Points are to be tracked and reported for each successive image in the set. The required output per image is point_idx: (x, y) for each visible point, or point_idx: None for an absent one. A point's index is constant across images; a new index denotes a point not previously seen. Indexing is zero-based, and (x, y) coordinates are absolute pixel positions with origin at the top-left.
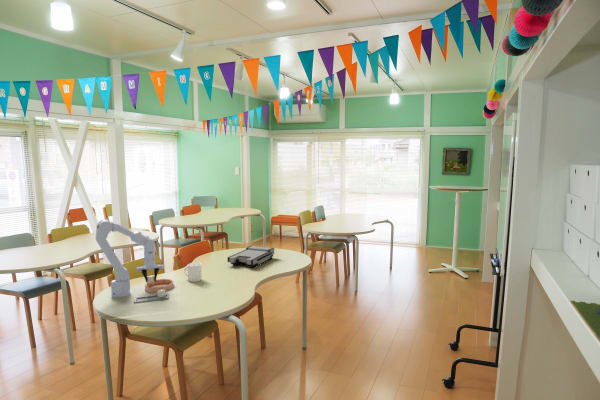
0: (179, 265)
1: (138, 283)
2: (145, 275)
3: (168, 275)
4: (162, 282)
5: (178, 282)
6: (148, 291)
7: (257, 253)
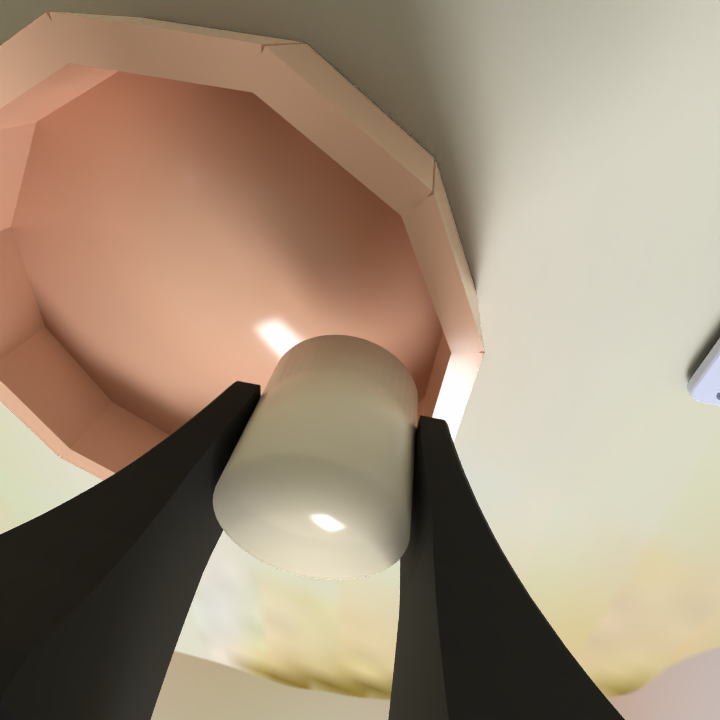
0: None
1: None
2: (468, 582)
3: (191, 616)
4: None
5: None
6: (433, 162)
7: None
